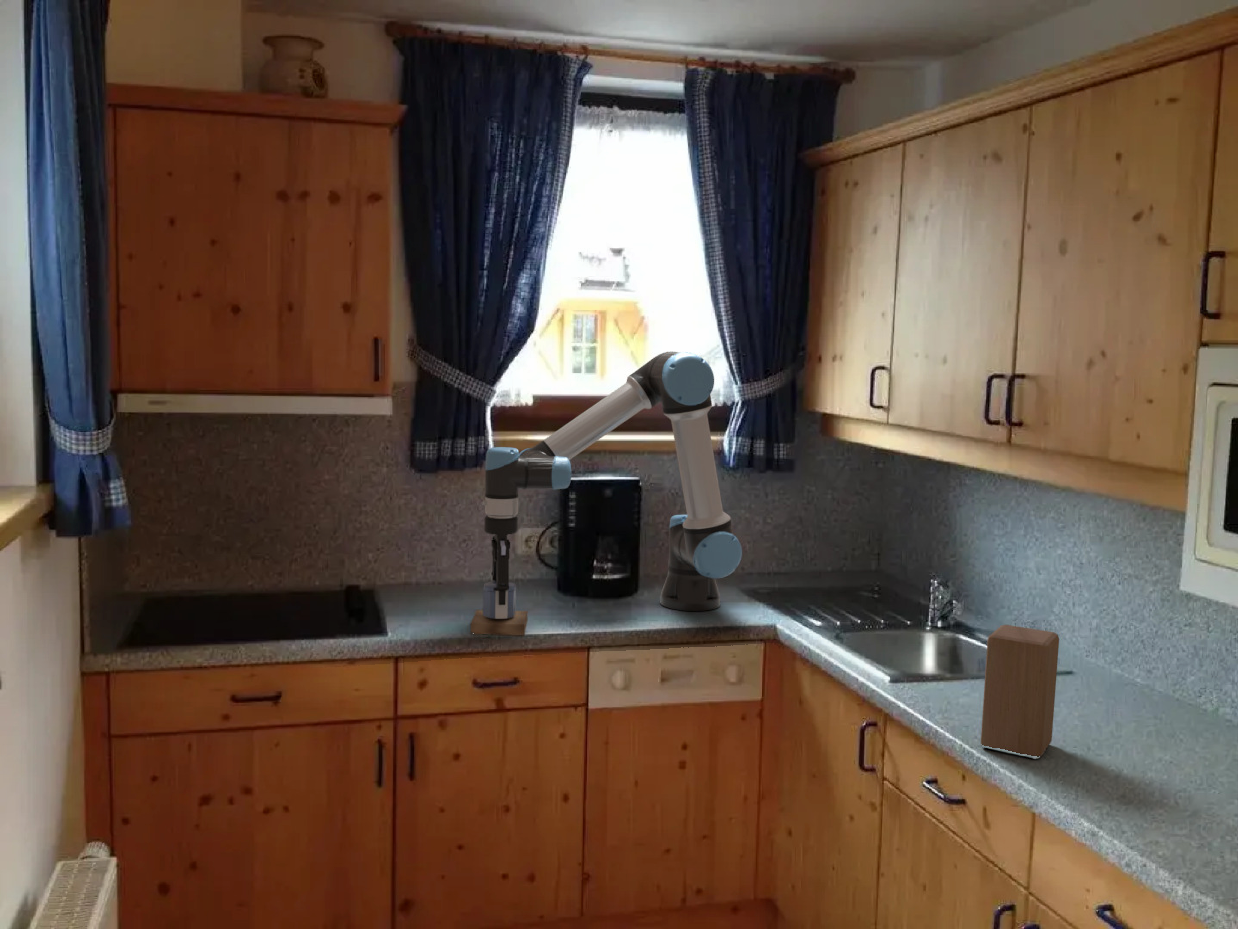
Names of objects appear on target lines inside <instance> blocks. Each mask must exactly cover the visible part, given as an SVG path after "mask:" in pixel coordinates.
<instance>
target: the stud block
mask: <svg viewBox="0 0 1238 929" xmlns="http://www.w3.org/2000/svg"><path fill="white" fill-rule="evenodd" d="M528 613H529V612H528V611H527V610H515V615H514V616H513V617H510V618H504V619H495V618H488V617H486V616H483V609H476V610H475V613H474V615H473V618H472V620H471V622H470V634H471V633H474V634H473V635H482V634H493V635H494V636H525V633H526V630H527V625H528ZM493 635H492V636H493Z"/></svg>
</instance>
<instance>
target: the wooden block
mask: <svg viewBox="0 0 1238 929" xmlns="http://www.w3.org/2000/svg"><path fill="white" fill-rule="evenodd" d="M986 643H987V644H986V658H985V669H984V670H985V672H984V673H985V674H984V688H983V689H984V690H983V704H982V715H981V716H982V717H981V719H982V720H981V732H980V745H981V744H982V745H984V746H989V747H992V748H1000V749H1005V750H1008V751H1012V752H1016V753H1020V754H1027V755H1031V756H1037V757H1039V756H1041V757H1042V756H1043V755H1044V753H1045V752H1046V751H1047V749H1048V747H1049V746H1050V744H1051V743H1052V740H1053V729H1054V728H1053V727H1054V726H1053V725H1054V714H1055V713H1054V712H1055V703H1056V702H1055V700H1056V687H1057V676H1058V675H1057V673H1058V660H1059V647H1060V638H1059V634H1058V633H1057V632H1055V631H1048V630H1044V629H1043V630H1041V629H1036V628H1028V627H1023V626H1018V625H1017V626H1016V625H1009V624H1003V625H1000V626H999V627H998V628H996V630H995V631H993V632H992V633H991V634H989V635H988V638H987V642H986ZM982 745H981V746H982ZM1048 745H1049V746H1048ZM1046 748H1047V749H1046ZM1044 751H1045V752H1044ZM1042 754H1043V755H1042Z"/></svg>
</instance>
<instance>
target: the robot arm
mask: <svg viewBox="0 0 1238 929" xmlns="http://www.w3.org/2000/svg"><path fill="white" fill-rule="evenodd" d="M714 387H715V375H714V372H713V369H712V367H711V365H710V364H709V363H708V362H707V361H706V360H705V359H704V358H703V357H701V356H699V355H697V354H695V353H691V352H686V351H685V352H684V351H682V352H681V351H680V352H678V351H664V352H662V353H659V354H657V355H656V356H654V357H652V358H651V359H650V360H649V361H647V362H646V363H645V364H643V365H642V366H640V367H639V368H638V369H637V370H635V371H634V372H632V373H631V374H630V375H628V376H627V379H626V382H625V383H624V384H623V385H621V386H620V387H618V388H617V389H615V390H614V391H612V392H611V393H609V394H607V396H605V397H604V398H602V399H601V400H599V401H598V402H597V403H595V404H594V405H592V406H591V407H589V408H588V409H587V410H585V411H583V412H582V413H580V414H579V415H577V416H576V417H575V418H573V419H572V420H570V421H569V422H568V423H566V424H564V425H563V426H562V427H560V428H559V429H558V430H556V431H554V432H553V433H552V434H550V435H548V436H547V437H546V438H544V439H542V441H540V442H539V443H537V444H535V445H534V446H532V447H529V448H525V449H523V450H521V451H520V452H519V449H518V448H516V447H507V446H506V447H505V446H498V447H496V446H495V447H490V448H489V449H488V450H487V451H486V453H485V466H484V482H485V483H484V485H485V486H484V497H485V498H484V499H485V500H483V501H482V502H481V503H482V504H481V505H482V506H484V513H485V515H486V516H485V517H484V529H483V530H484V532H485V533H486V534H489V535H492V538H491V556H492V566H491V569H492V570H491V576H492V577H491V578H492V582H494V581H496V583H497V587H496V588H493V591H496V596H495V619H504V618H507V613H508V590H509V582H510V578H509V576H510V575H509V574H510V573H509V572H510V566H509V565H510V563H509V562H510V561H509V560H510V548H511V542H510V540H509V539H508V535H514V534H516V533H517V532H518V529H519V528H518V525H519V522H518V521H519V519H518V517H517V515H518V514H519V490H554V491H556V490H560V489H561V490H565V489H567V488H569V486H570V484H571V480H572V464H571V460H572V459H573V458H574V457H576V456H577V455H579V454H580V453H582V452H583V451H584V450H586V449H587V448H589V447H590V446H592V445H593V444H594V443H595V442H598V441H599V440H600V439H601V438H603V437H605V436H606V435H607V434H609V433H611V432H612V431H613V430H615V429H616V428H617V427H619V426H621V425H622V424H623V423H624V422H627V421H628V420H629V419H631V418H632V417H634V416H635V415H636V414H638V413H639V412H640V411H642V410H645V409H646V410H650V409H652V408H653V407H655V406H657V405H659V404H660V403H661V406H662V407H661V408H662V413H663V416H666V417H667V418H668V419H669V420H670V421H671V427H672V433H673V440H674V445H675V451H676V458H677V462H678V463H677V464H678V468H679V474H680V479H681V480H680V481H681V486H682V491H683V492H682V494H683V498H684V499H683V500H684V504H685V509H686V510H685V511H686V514H676V515H675V514H674V515H673V516H671V517H670V520H669V526H668V564H667V566H668V568H667V569H668V572H667V575H666V578H665V582H664V584H663V587H662V589H661V592H660V600H659V601H660V602H659V603H660V605H661V606H663V607H665V608H668V609H672V610H677V611H689V612H698V611H699V612H701V611H703V612H704V611H710V610H714V609H718V608H719V607H720V606H721V595H720V590H719V587H718V585H717V581H716V580H717V579H722V578H725V577H728V576H730V575H731V574H732V573H733V572H735V571H736V569H737V568H738V566H739V565H740V563H741V560H742V556H743V549H742V544H741V542H740V541H739V539H738V537H737V536H735V535H734V530H733V525H732V518H731V516H730V515H729V514H727V513H726V512H725V511H724V510H723V503H722V498H721V491H720V485H719V480H718V474H717V467H716V460H715V455H714V450H713V449H714V448H713V442H712V438H711V437H712V436H711V429H710V424H709V416H708V413H709V412H710V410H711V408H712V407H713V402H712V401H713V400H712V398H711V397H712V396H711V394H712V392H713V389H714Z"/></svg>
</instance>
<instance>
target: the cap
mask: <svg viewBox="0 0 1238 929" xmlns="http://www.w3.org/2000/svg"><path fill="white" fill-rule="evenodd" d="M496 587H497V583H496V581H487V582H486V583H484V584H483V592H482V598H483V599H482V610H483V616H486V617H488V618H495V596H496V591H493V588H496ZM516 597H517V589H516V583H515V582H510V581H509V590H508V613H507V618H510V617H513V616H514V615H515V611H516V599H517V598H516Z"/></svg>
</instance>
